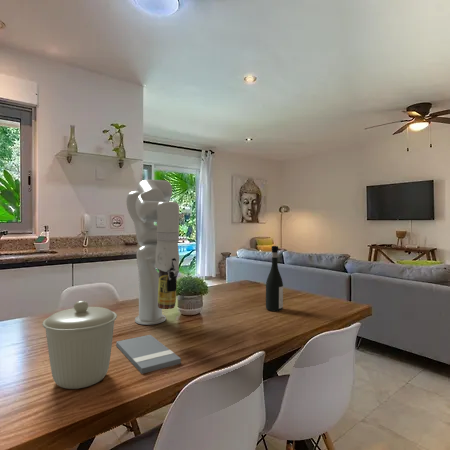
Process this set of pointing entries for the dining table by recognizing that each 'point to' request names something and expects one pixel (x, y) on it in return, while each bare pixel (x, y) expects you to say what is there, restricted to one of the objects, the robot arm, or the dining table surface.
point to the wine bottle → (274, 285)
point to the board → (147, 353)
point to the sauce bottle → (165, 292)
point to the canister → (79, 344)
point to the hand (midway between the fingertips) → (167, 288)
